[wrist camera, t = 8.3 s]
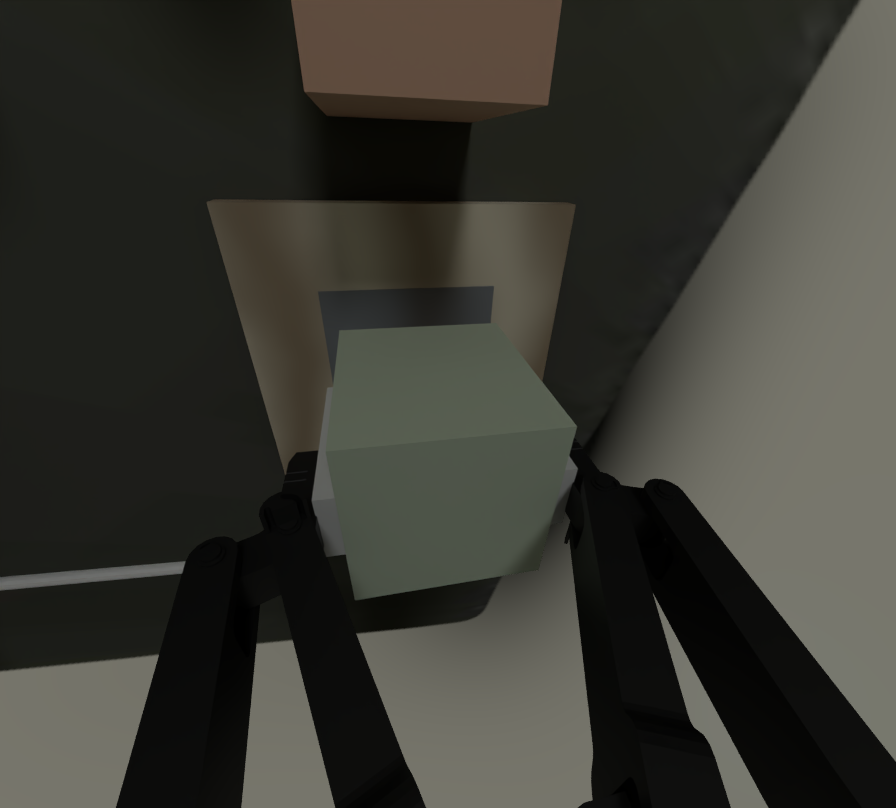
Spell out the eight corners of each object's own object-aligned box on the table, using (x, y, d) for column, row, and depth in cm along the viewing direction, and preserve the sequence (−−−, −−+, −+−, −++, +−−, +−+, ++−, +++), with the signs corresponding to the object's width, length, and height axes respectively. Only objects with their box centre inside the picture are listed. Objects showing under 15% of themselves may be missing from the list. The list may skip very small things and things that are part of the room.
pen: (278, 557, 29) (276, 570, 28) (-34, 584, 25) (-49, 601, 24) (277, 549, 29) (274, 562, 28) (-42, 576, 24) (-57, 592, 24)
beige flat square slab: (291, 475, 25) (288, 488, 24) (214, 199, 16) (205, 202, 15) (522, 449, 28) (527, 459, 27) (566, 202, 19) (576, 205, 18)
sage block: (356, 454, 20) (354, 600, 14) (339, 330, 16) (325, 451, 10) (484, 441, 21) (538, 569, 15) (496, 323, 17) (577, 426, 11)
